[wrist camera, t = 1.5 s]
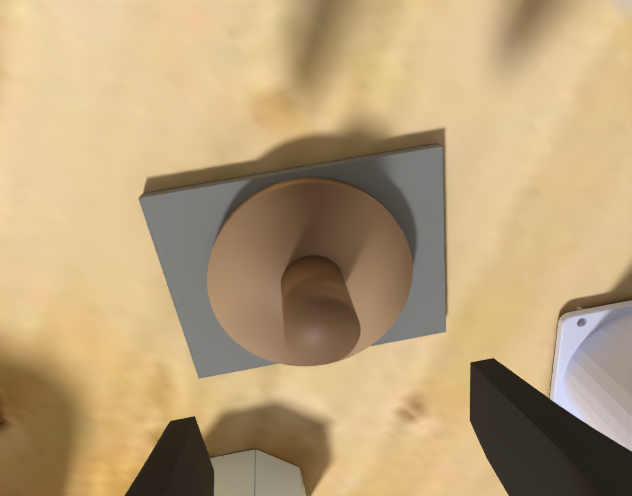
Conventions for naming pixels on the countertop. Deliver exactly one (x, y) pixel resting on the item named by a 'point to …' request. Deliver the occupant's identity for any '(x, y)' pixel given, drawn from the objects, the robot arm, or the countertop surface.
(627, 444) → the robot arm
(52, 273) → the countertop surface
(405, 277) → the lid
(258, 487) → the bowl
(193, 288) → the mat
